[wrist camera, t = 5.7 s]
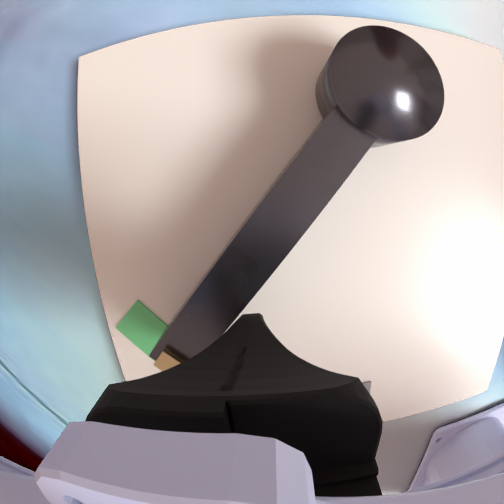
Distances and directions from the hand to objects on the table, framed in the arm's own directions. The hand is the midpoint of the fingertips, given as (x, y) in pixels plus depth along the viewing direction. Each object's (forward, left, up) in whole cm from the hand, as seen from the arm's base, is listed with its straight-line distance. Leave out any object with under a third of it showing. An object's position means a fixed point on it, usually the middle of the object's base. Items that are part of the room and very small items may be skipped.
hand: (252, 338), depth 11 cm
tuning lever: (+5, -2, -2) cm, 5 cm away
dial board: (+3, -4, -3) cm, 5 cm away
